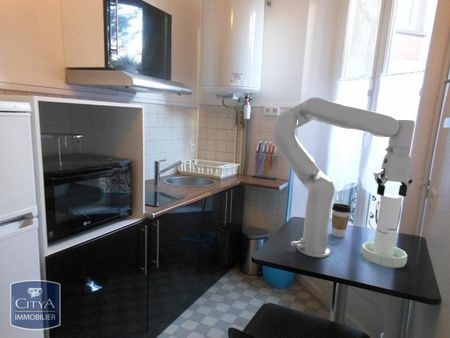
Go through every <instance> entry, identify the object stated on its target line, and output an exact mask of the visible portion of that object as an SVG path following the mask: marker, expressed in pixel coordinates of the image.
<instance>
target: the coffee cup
mask: <svg viewBox="0 0 450 338" xmlns="http://www.w3.org/2000/svg"><path fill="white" fill-rule="evenodd" d="M331 210H332V213H331V235H332V236H334V237H337V238H344V237H345V236H346V231H347V228H348V224H349V219H350V213H351V206H350V205H348V204H343V203H332V206H331Z"/></svg>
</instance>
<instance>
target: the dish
mask: <svg viewBox="0 0 450 338" xmlns="http://www.w3.org/2000/svg"><path fill="white" fill-rule="evenodd" d="M374 242H375V241H366V242H365V243H362V245H361V256H362V258H364V259H365V260H366V261H368V262H370V263H372V264H374V265H378V266H381V267H386V268H391V269H393V268H394V269H398V268H399V269H400V268H403V267H405V266H406V264H407V261H408V253H406V251H405V250H403V249H401V248H399V247H397V246H395V247H394V253H393V257H388V256H382V255H379V254H376V253H373V248H374Z"/></svg>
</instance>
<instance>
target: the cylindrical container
mask: <svg viewBox="0 0 450 338" xmlns="http://www.w3.org/2000/svg"><path fill="white" fill-rule="evenodd" d="M402 202H403V196H400V195H397V194H392V193H384V196H381V195H380V202H379V208H378V213H377V215H378V216H377V223H376V229H375V234H374V235H375V236H374V241H373V242H374V248H373V253H376V254H379V255H382V256H388V257H393V253H394V247H396V246H395V245H396V240H397V239H396V238H397V233H398V227H399V220H400V213H401V208H402Z"/></svg>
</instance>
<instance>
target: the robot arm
mask: <svg viewBox="0 0 450 338" xmlns="http://www.w3.org/2000/svg"><path fill="white" fill-rule="evenodd" d="M311 121H316V122H319V123H324V124H327V125H330V126H334V127H338V128H341V129H348V130H349V129H350V130H356V131H357V130H358V131H362V132H366V133H369V134H370V135H372V136H374V137H377V138H378V137H381V138H388V145H387V147H386V148H385V151H386V154H385V156H384V157H383V160H382V164H381V168H380V169H379V170H377V171H375V172H373V178H374V181H375V182H376V184H377V189H376V194H377V195H379V196H380V197H381V196H384V194H385V190H386V185H385V184H386V183H388V182H395V183H396V182H397V183H400V184H399V189H398V196H401V197H404V198H405V197H406V196H407V192H408V187H410V185H411V184H412V183H413V181H414V179H415V178H416V176H415V174H413V173H412V166H413V165H412V163H413V162H412V156H410V155H411V150H412V149H411V147H412V143H413V135H414V130H415V125H416V122H415V121H414V120H413V119H411V118H395V117H394V116H392V115H389V114H384V113H381V112H377V111H373V110H368V109H364V108H359V107H357V106H351V105H347V104H343V103H339V102H335V101H332V100H328V99H324V98H321V97H309V98H307V100H304V101H303V102H301V103H298V104H297V105H295V106H294V107H291V108H289V109H288V110H286V111H282V112H281V113H279V114H278V115H277V117H276V119H275V122H274V127H273V129H272V130H273V131H272V136H273V142H274V145H275V147H276V149H277V150H278V152H279V153H280V155H281V156H282V157H283V159H284V160H285V161H286V163H287V164H288V165H289V167H290V170H291V171H292V172H293V174H295V176H296V177H297V179H298V181H300V182H301V184H303V186H304V187H305V189H306V190H307V191H308V195H307V200H306V206H305V214H304V224H303V233H302V237H301V238H300V239H299V240H297V241H296V240H292V241H291V242H290V245H291V247H296V248H297V250H298V251H299V252H300V253H301V254H304V255H305V256H309V257H312V258H326V257H328V256H330V253H331V250H330V249H329V248H328V247H327V245H328V238H329V237H328V235H329V229H330V219H331V214H332V213H331V212H332V211H331V210H332V207H333V200H334V196H335V191H336V189H335V184H334V182H333V180H332V179H331V178H330V177H329V176H327V175H326V174H325V173H323V171H322V170H321V169H320V167H319V166H318V165H317V164H316V161H315V159H314V157H313V156H311V155H310V154H309V153H308V151H307V150H306V149H305V148H304V146H303V144H302V143H301V142H300V140H298V138H297V135H296V130H297V129H298V128H299V127H302V126H304V125H306V124H308V123H310V122H311Z"/></svg>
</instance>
